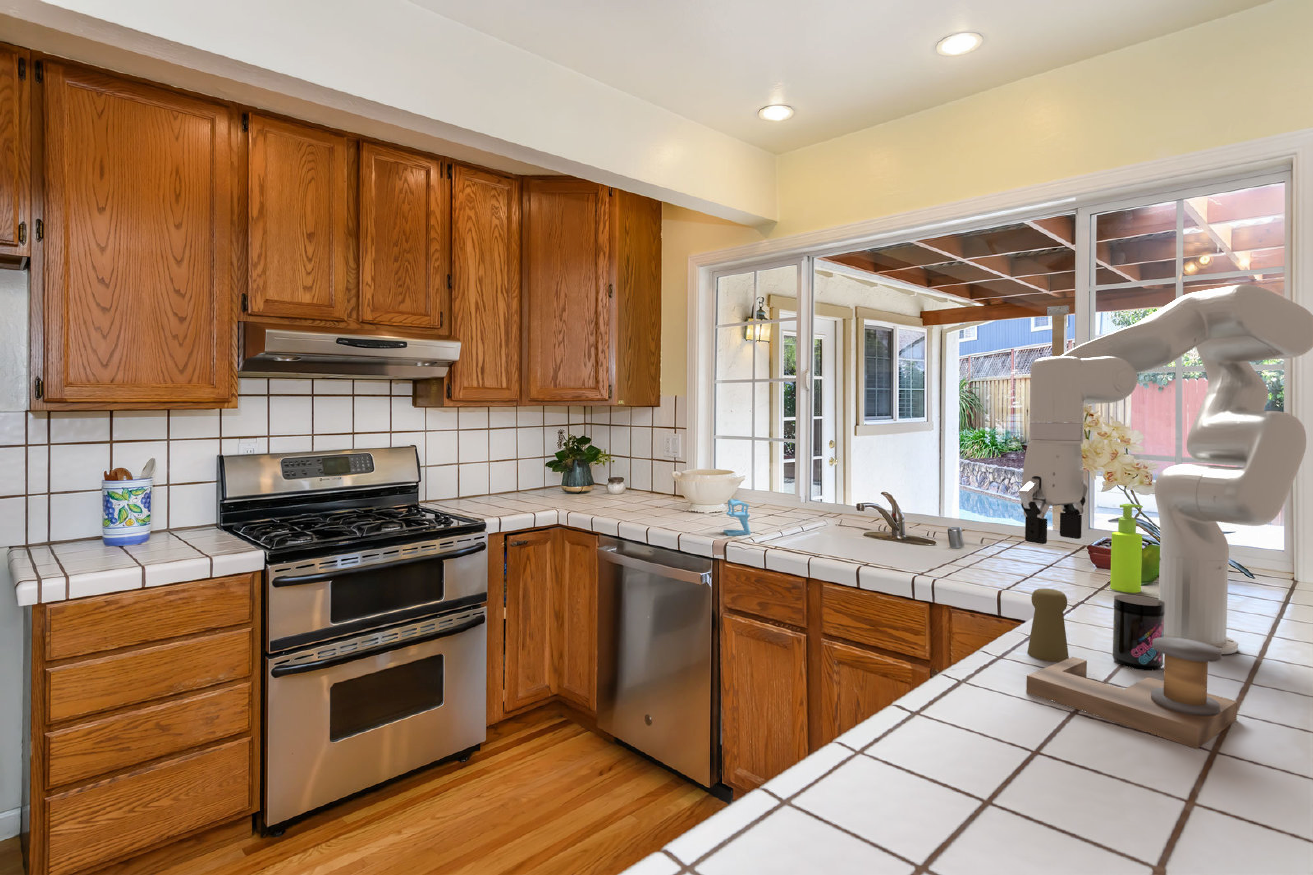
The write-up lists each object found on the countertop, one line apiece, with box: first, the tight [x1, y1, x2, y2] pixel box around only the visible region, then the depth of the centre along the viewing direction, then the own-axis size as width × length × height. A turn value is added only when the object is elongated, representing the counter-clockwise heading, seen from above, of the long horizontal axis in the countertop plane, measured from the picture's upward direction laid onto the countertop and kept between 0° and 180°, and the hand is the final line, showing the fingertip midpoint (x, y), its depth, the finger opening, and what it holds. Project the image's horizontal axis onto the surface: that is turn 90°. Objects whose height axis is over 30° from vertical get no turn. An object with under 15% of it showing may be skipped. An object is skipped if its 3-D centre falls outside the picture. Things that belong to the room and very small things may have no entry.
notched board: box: [1025, 637, 1238, 750], centre depth 93 cm, size 14×20×10 cm
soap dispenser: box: [1109, 503, 1143, 594], centre depth 158 cm, size 6×7×20 cm
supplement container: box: [1112, 594, 1165, 671], centre depth 109 cm, size 7×7×10 cm
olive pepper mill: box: [1026, 588, 1070, 663], centre depth 113 cm, size 6×6×11 cm
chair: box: [723, 498, 751, 537], centre depth 232 cm, size 8×8×12 cm
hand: (1053, 540), depth 110 cm, fingers open, 9 cm apart
